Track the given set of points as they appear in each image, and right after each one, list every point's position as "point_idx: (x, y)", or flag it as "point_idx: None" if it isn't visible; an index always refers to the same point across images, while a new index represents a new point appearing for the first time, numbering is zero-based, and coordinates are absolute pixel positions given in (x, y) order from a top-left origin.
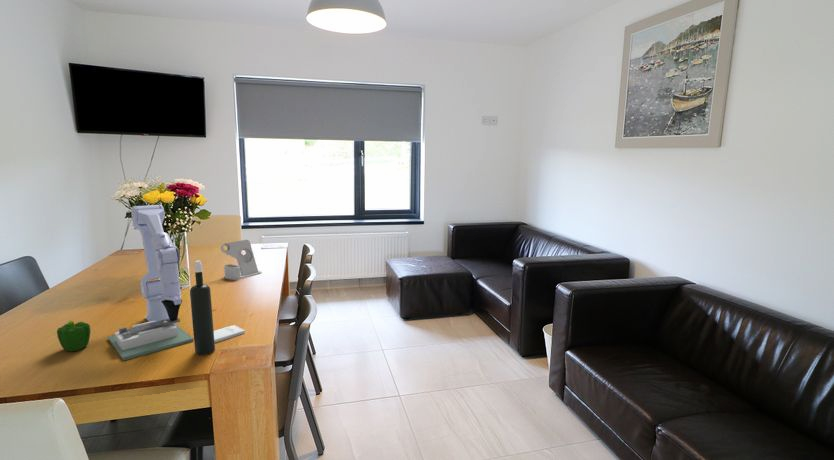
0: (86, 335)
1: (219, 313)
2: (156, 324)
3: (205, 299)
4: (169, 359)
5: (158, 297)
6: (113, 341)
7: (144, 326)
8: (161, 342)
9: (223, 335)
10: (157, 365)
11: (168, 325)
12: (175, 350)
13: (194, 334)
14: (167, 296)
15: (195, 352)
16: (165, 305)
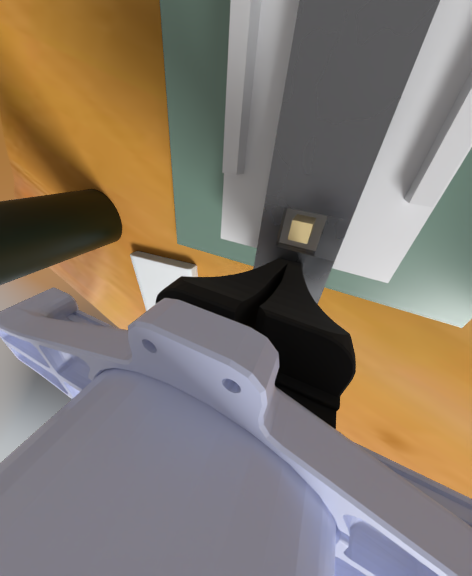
0: None
1: (339, 418)
2: (299, 159)
3: None
4: (88, 103)
5: (175, 325)
6: None
7: (366, 46)
8: (217, 136)
9: (147, 295)
10: (57, 37)
11: (283, 230)
12: (146, 157)
13: (14, 200)
14: (94, 379)
15: (90, 190)
16: (202, 282)
